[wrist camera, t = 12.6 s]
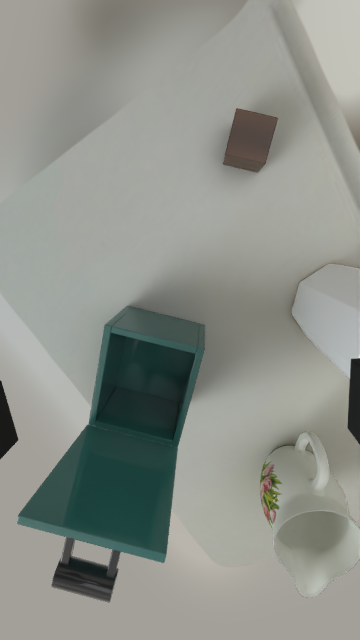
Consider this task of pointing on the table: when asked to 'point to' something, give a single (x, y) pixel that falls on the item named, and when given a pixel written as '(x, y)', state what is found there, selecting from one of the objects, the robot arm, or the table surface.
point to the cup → (331, 312)
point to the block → (249, 140)
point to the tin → (147, 375)
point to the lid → (105, 505)
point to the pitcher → (308, 516)
